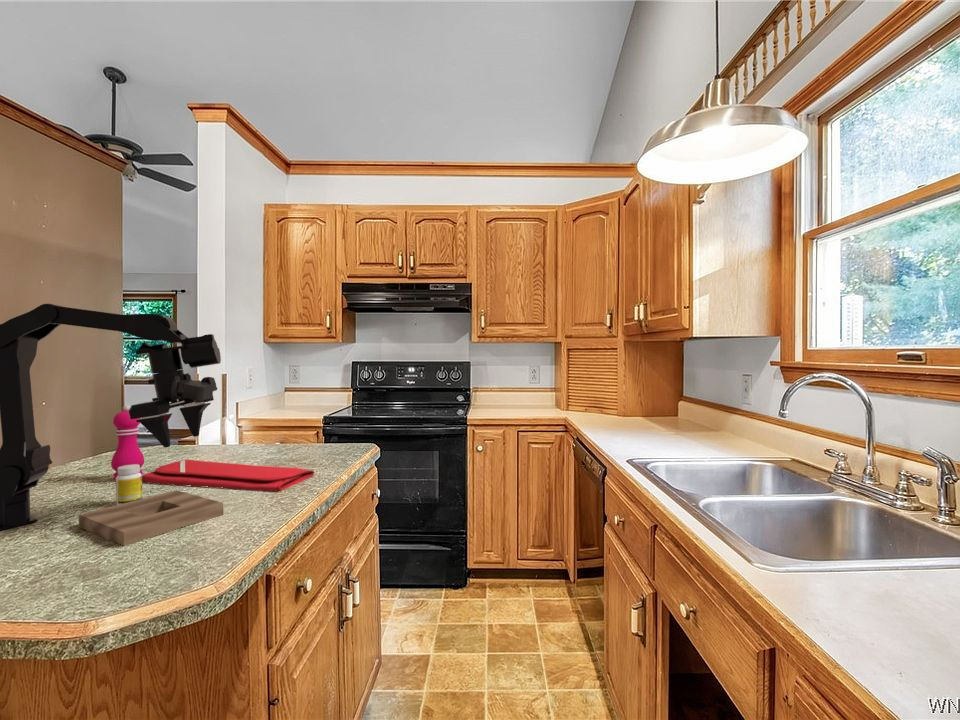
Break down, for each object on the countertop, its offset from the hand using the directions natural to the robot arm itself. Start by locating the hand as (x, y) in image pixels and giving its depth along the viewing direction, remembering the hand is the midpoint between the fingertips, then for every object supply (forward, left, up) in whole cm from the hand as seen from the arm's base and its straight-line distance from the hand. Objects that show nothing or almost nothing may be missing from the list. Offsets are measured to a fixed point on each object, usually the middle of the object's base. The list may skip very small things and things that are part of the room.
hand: (182, 441), depth 102 cm
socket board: (+3, -7, -15) cm, 17 cm away
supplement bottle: (-14, -4, -15) cm, 21 cm away
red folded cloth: (-13, +19, -15) cm, 27 cm away
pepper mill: (-38, +6, -15) cm, 41 cm away
